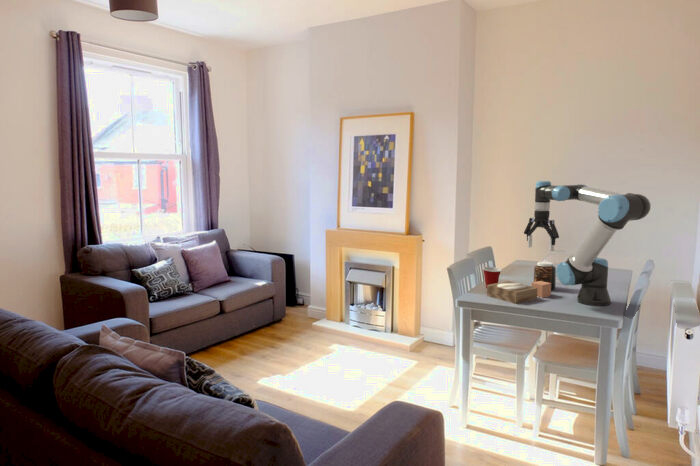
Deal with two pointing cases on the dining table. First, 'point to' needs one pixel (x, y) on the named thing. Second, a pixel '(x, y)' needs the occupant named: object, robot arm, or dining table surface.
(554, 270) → the jar
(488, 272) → the plastic cup
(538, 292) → the terracotta cube
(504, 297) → the block
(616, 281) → the dining table surface
